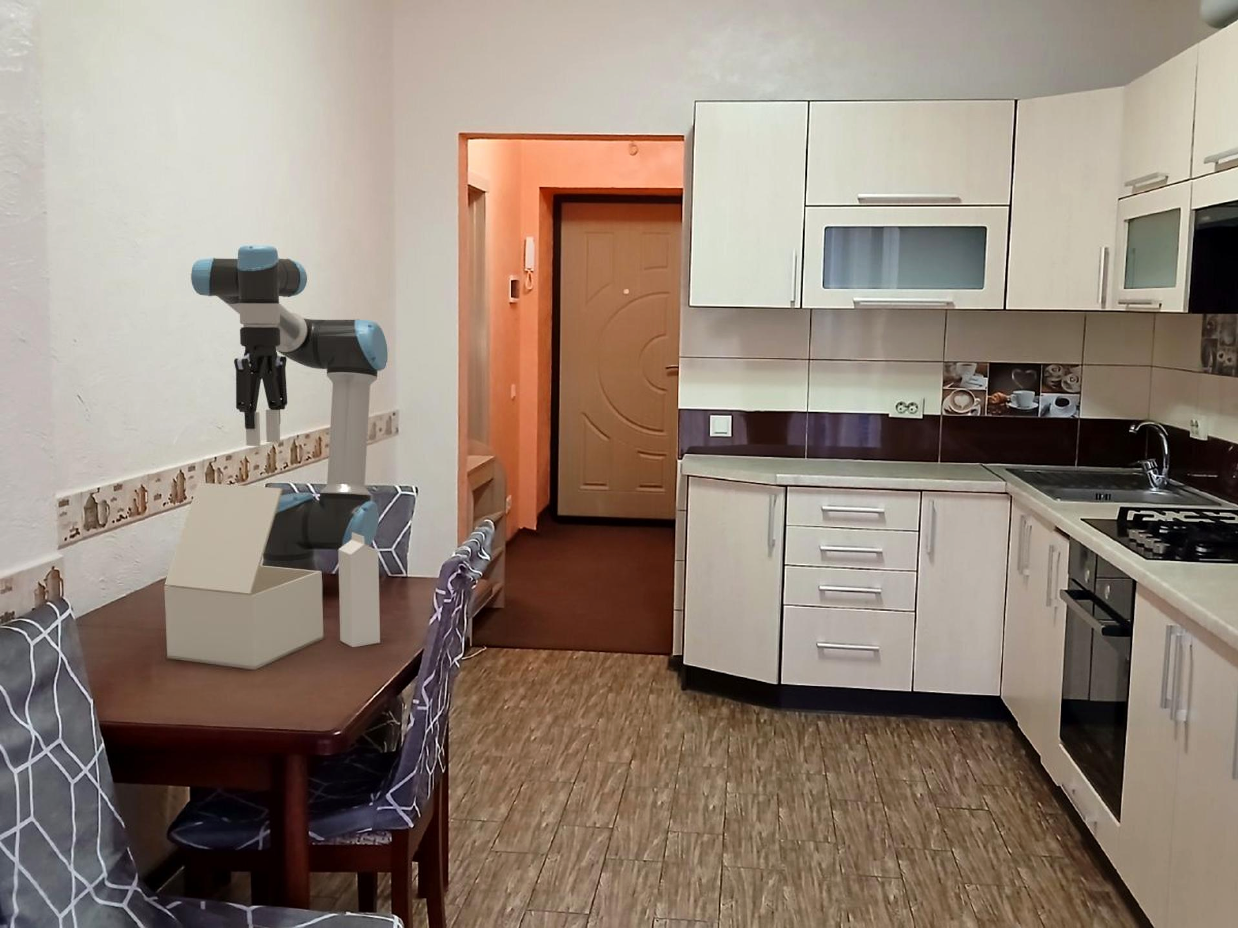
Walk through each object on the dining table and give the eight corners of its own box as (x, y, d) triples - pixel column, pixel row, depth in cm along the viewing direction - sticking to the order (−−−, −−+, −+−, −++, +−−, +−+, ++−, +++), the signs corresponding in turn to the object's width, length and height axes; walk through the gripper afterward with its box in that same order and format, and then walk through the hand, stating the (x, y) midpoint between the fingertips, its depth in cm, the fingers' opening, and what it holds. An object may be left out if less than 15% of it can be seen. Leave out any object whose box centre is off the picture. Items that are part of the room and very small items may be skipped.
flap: (199, 483, 228) (198, 482, 227) (282, 489, 221) (281, 488, 221) (166, 585, 221) (164, 584, 220) (251, 594, 214) (249, 593, 214)
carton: (241, 628, 243) (238, 563, 241) (323, 638, 236) (321, 571, 234) (167, 658, 222) (164, 586, 221) (255, 669, 216) (252, 595, 214)
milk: (352, 647, 230) (349, 538, 227) (339, 640, 235) (336, 533, 232) (380, 642, 234) (378, 535, 231) (367, 635, 239) (365, 530, 236)
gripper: (273, 325, 238) (276, 438, 241) (212, 326, 220) (216, 448, 223) (304, 326, 235) (307, 440, 238) (245, 326, 218) (249, 449, 221)
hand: (263, 443), depth 231 cm, fingers open, 6 cm apart
